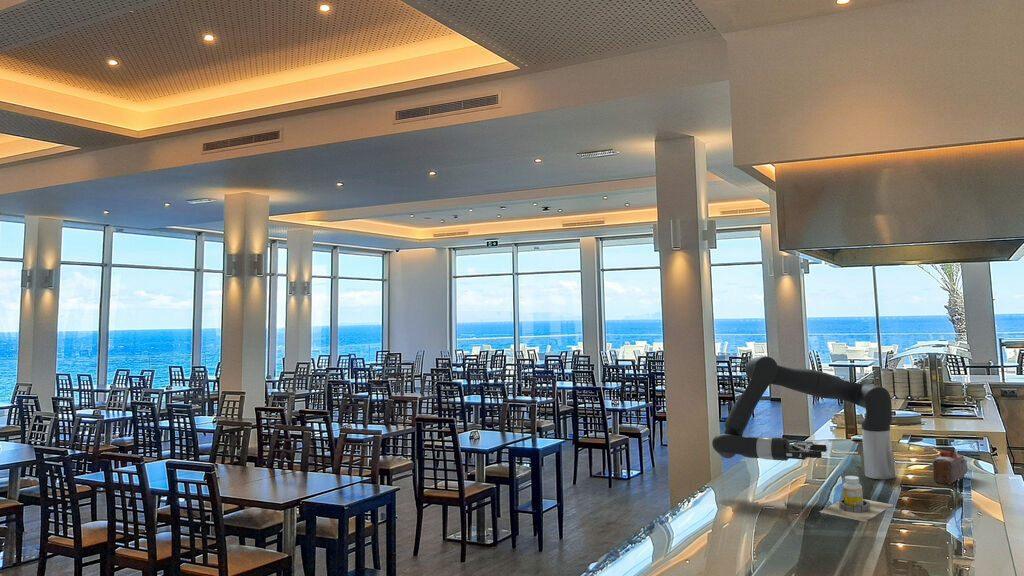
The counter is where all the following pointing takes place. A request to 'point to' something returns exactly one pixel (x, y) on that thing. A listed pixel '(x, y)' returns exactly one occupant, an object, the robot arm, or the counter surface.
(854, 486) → the supplement bottle
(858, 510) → the bottle collar
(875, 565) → the counter surface
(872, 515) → the serving board
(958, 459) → the food item
